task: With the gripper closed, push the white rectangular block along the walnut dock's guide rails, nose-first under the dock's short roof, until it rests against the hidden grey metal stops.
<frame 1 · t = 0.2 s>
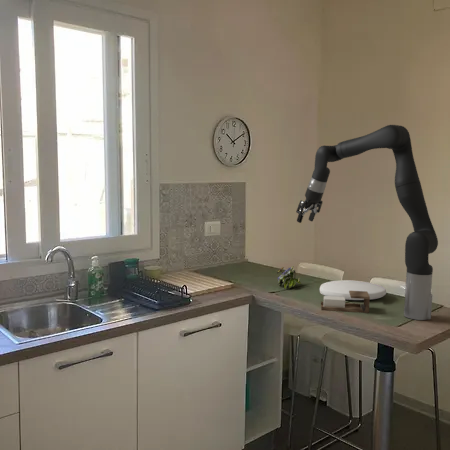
hand: (304, 221, 237), 31 cm above the breakfast bar, tool tilted 20°, fingers open, 8 cm apart
white rectangular block: (333, 307, 206), point 1 cm above the breakfast bar, touching dock
passion flower: (288, 287, 243), on the breakfast bar
dock: (344, 310, 206), on the breakfast bar
plate: (351, 297, 228), on the breakfast bar
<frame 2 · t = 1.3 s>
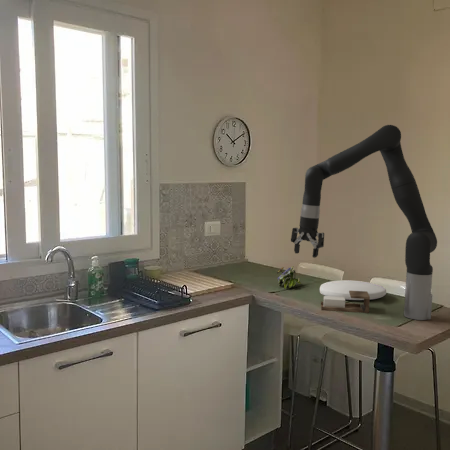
hand: (305, 255, 213), 20 cm above the breakfast bar, tool pointing down, fingers open, 8 cm apart
nothing on the breakfast bar moved.
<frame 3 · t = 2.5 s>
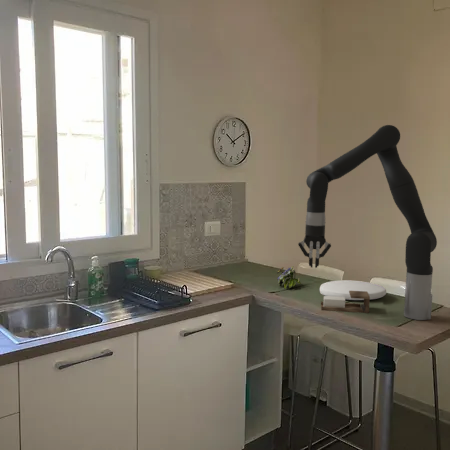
hand: (313, 267, 205), 17 cm above the breakfast bar, tool pointing down, fingers closed
nothing on the breakfast bar moved.
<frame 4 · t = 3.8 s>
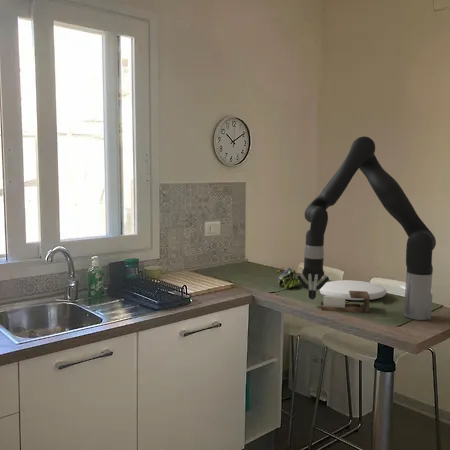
hand: (311, 298, 207), 4 cm above the breakfast bar, tool pointing down, fingers closed
nothing on the breakfast bar moved.
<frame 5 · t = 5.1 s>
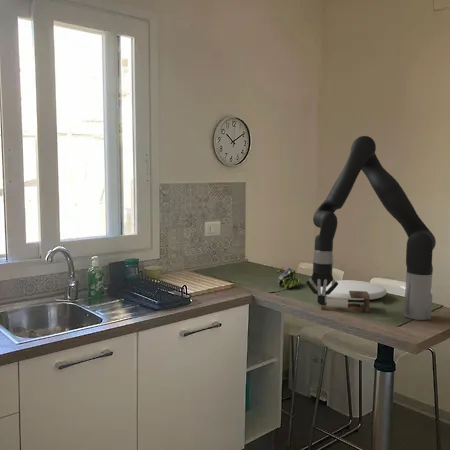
hand: (320, 304, 207), 2 cm above the breakfast bar, tool pointing down, fingers closed
white rectangular block: (336, 308, 206), point 1 cm above the breakfast bar, touching gripper
everything else where it was.
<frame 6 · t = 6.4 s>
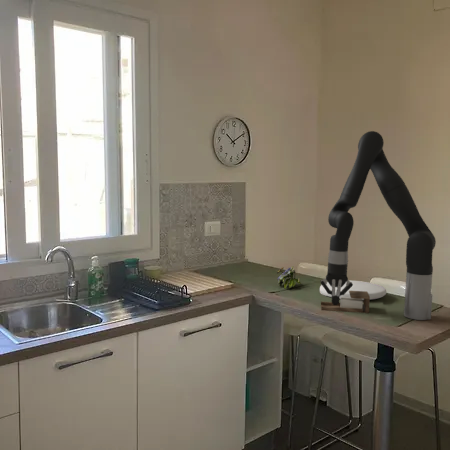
hand: (335, 304, 206), 2 cm above the breakfast bar, tool pointing down, fingers closed
white rectangular block: (350, 308, 205), point 1 cm above the breakfast bar, touching dock, gripper
everything else where it was.
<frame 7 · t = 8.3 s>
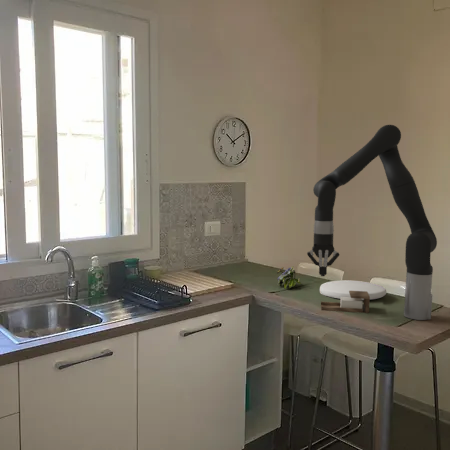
hand: (322, 275, 204), 14 cm above the breakfast bar, tool pointing down, fingers closed
white rectangular block: (350, 309, 205), point 1 cm above the breakfast bar, touching dock
everything else where it was.
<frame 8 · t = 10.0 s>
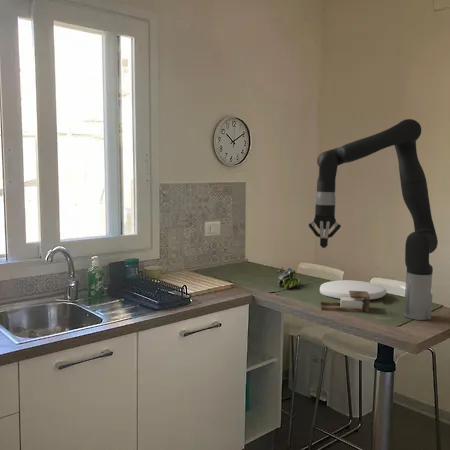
hand: (323, 247, 204), 25 cm above the breakfast bar, tool pointing down, fingers closed
nothing on the breakfast bar moved.
at the end: white rectangular block 0.6 cm from the target spot, point 1.0 cm above the breakfast bar; white rectangular block tilted 0°; the gripper is holding nothing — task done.
